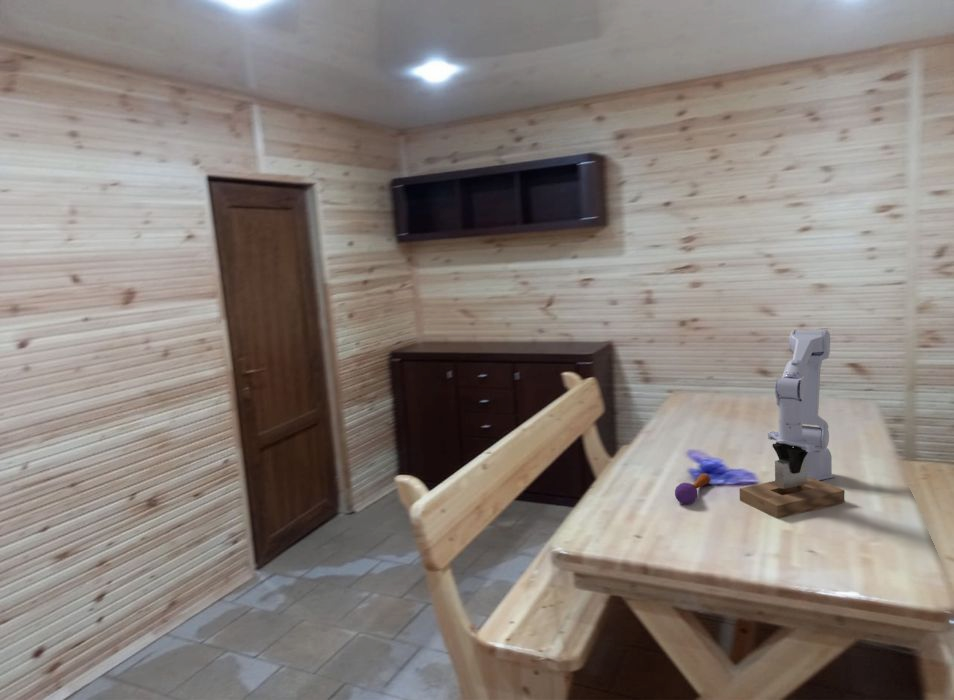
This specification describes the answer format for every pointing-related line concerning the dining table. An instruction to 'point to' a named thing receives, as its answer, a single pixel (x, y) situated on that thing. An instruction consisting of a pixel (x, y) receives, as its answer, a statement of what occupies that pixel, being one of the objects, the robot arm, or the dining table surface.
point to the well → (791, 497)
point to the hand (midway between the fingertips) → (790, 470)
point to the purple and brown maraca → (690, 489)
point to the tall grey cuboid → (789, 474)
